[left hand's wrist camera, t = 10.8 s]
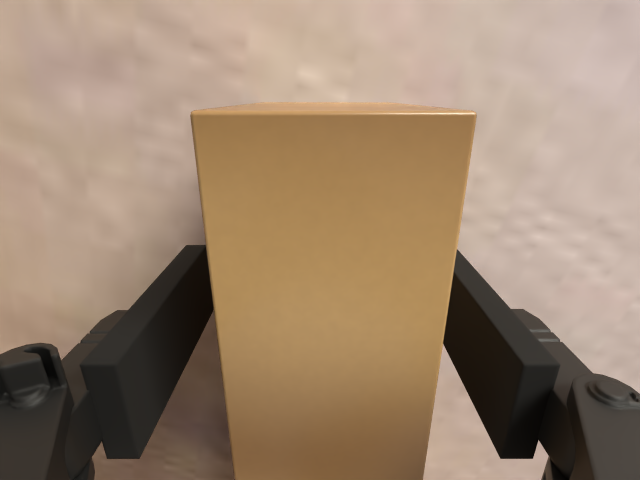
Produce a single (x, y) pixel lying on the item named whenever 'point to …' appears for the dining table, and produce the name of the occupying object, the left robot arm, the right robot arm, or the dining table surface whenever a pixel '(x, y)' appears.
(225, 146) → the bar
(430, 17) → the dining table surface
